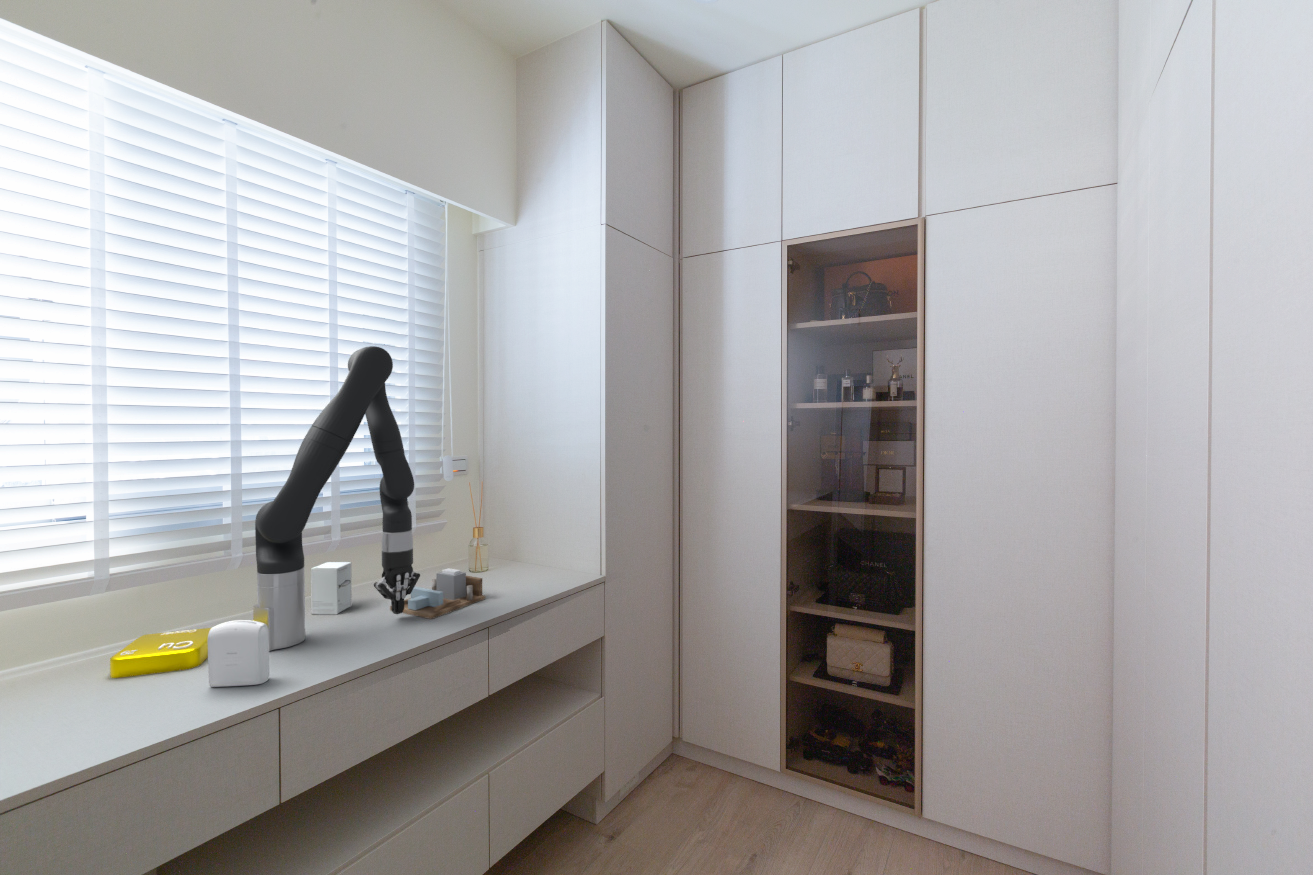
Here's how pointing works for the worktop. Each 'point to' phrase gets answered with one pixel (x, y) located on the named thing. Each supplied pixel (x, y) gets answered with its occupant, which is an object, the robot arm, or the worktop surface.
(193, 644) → the element tile
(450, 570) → the block
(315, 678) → the worktop surface
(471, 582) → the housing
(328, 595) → the supplement box
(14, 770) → the worktop surface
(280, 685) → the worktop surface
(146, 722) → the worktop surface
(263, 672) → the photo printer
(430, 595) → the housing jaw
